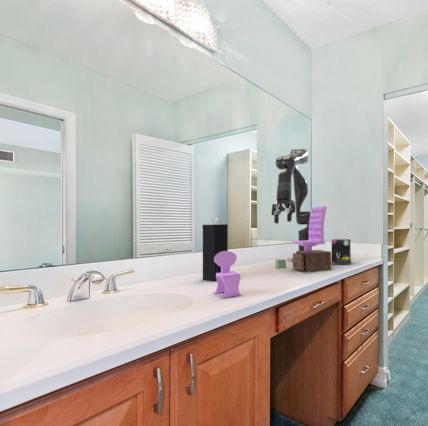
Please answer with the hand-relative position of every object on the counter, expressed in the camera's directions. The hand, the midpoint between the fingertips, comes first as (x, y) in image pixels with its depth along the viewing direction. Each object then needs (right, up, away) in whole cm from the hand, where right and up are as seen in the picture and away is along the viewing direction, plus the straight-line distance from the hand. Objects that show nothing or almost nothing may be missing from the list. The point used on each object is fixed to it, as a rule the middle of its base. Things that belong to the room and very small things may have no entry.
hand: (282, 222), depth 141 cm
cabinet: (+16, -26, +9) cm, 31 cm away
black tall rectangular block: (-29, -25, -15) cm, 41 cm away
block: (-2, -26, +17) cm, 31 cm away
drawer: (+11, -25, +7) cm, 28 cm away
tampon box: (+34, -26, +30) cm, 52 cm away
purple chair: (+14, -27, +28) cm, 41 cm away
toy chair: (-16, -24, -43) cm, 51 cm away
